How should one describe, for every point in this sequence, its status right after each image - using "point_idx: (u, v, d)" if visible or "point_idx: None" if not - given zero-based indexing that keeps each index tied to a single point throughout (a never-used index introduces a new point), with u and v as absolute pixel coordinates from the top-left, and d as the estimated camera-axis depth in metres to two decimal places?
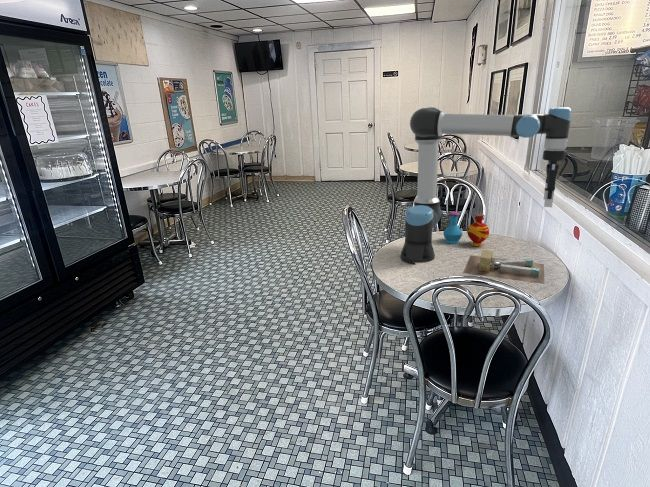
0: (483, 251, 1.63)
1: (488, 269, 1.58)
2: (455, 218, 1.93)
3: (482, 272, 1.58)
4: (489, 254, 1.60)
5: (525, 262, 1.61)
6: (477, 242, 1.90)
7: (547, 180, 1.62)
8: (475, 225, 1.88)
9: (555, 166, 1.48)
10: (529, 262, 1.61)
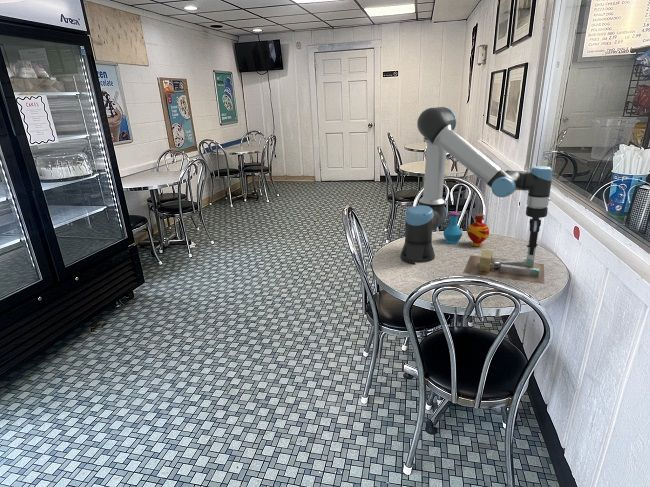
0: (483, 251, 1.63)
1: (488, 269, 1.58)
2: (455, 218, 1.93)
3: (482, 272, 1.58)
4: (489, 254, 1.60)
5: (526, 262, 1.60)
6: (477, 242, 1.90)
7: (530, 240, 1.61)
8: (475, 225, 1.88)
9: (536, 230, 1.53)
10: (530, 262, 1.60)
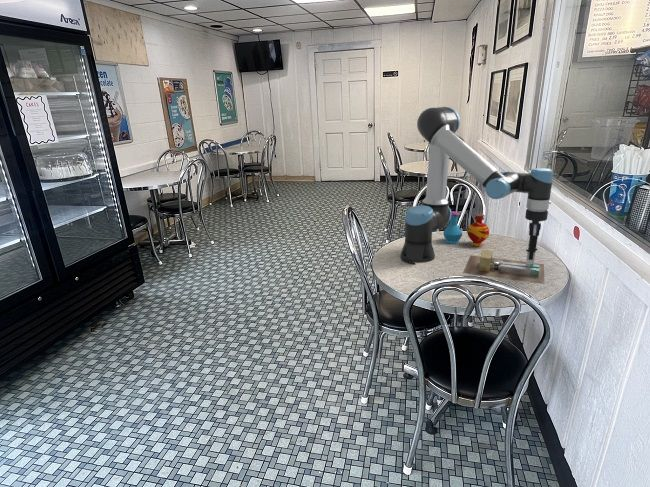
0: (483, 251, 1.63)
1: (488, 269, 1.58)
2: (455, 218, 1.93)
3: (482, 272, 1.58)
4: (489, 254, 1.60)
5: (530, 267, 1.56)
6: (477, 242, 1.90)
7: None
8: (475, 225, 1.88)
9: (536, 233, 1.48)
10: None
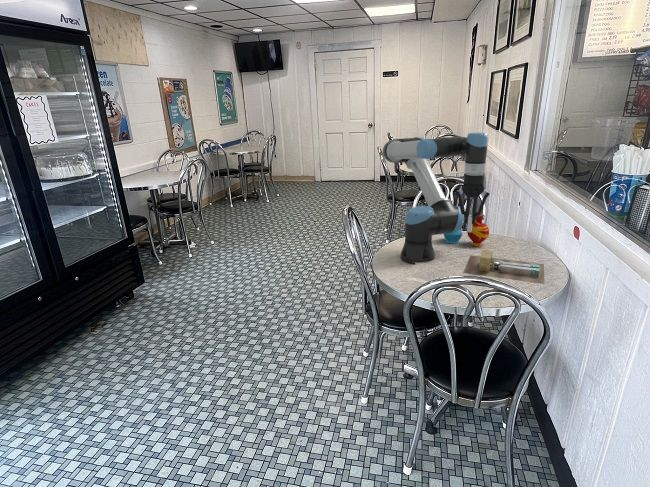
0: (483, 251, 1.63)
1: (488, 269, 1.58)
2: None
3: (482, 272, 1.58)
4: (489, 254, 1.60)
5: (530, 267, 1.56)
6: (477, 242, 1.90)
7: None
8: (475, 225, 1.88)
9: None
10: None
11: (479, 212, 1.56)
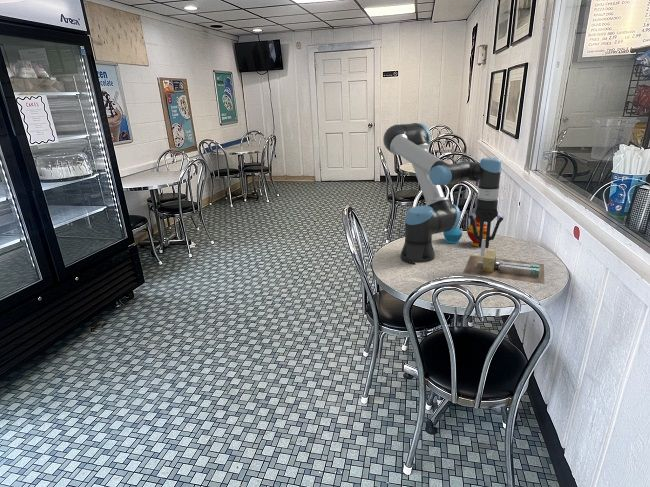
0: (487, 251, 1.63)
1: (492, 269, 1.57)
2: None
3: (482, 272, 1.58)
4: (493, 254, 1.59)
5: (530, 267, 1.56)
6: (477, 242, 1.90)
7: None
8: None
9: None
10: None
11: (493, 236, 1.56)
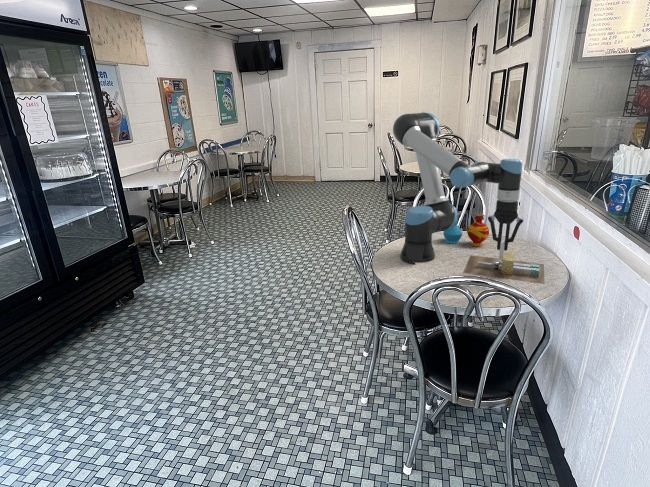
0: (505, 253, 1.60)
1: (511, 272, 1.54)
2: None
3: (482, 272, 1.58)
4: (511, 257, 1.56)
5: (530, 267, 1.56)
6: (477, 242, 1.90)
7: None
8: (475, 225, 1.88)
9: None
10: None
11: (512, 239, 1.53)
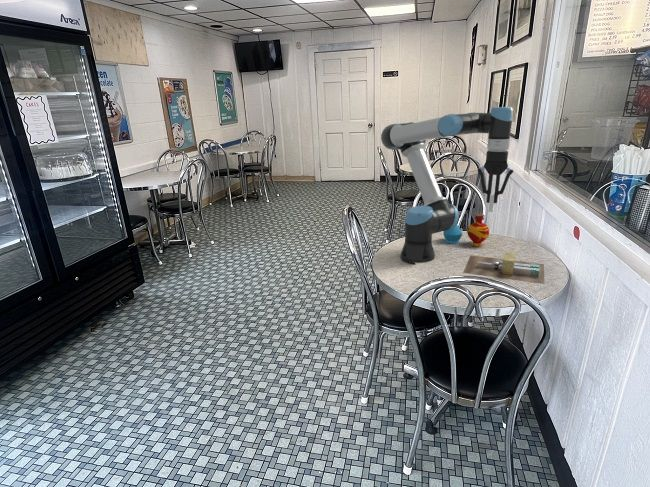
0: (505, 254, 1.60)
1: (511, 272, 1.54)
2: None
3: (482, 272, 1.58)
4: (512, 257, 1.56)
5: (530, 267, 1.56)
6: (477, 242, 1.90)
7: None
8: (475, 225, 1.88)
9: None
10: None
11: (502, 190, 1.51)
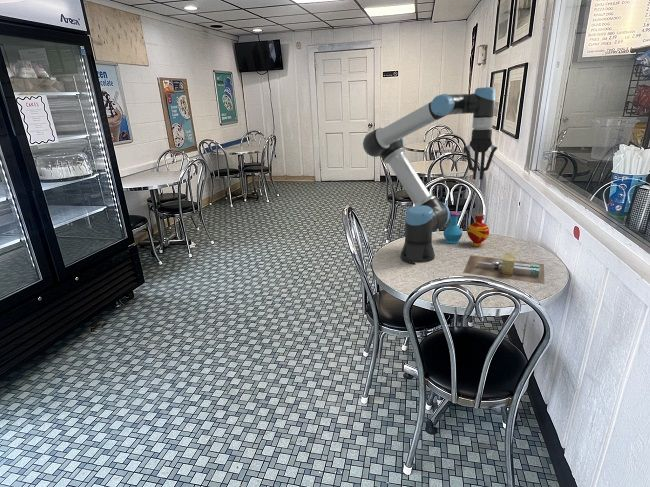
0: (505, 254, 1.60)
1: (511, 272, 1.54)
2: (455, 218, 1.93)
3: (482, 272, 1.58)
4: (512, 257, 1.56)
5: (530, 267, 1.56)
6: (477, 242, 1.90)
7: None
8: (475, 225, 1.88)
9: None
10: None
11: (487, 167, 1.59)
